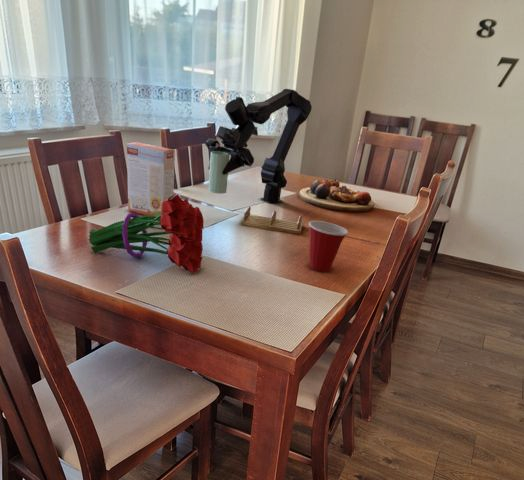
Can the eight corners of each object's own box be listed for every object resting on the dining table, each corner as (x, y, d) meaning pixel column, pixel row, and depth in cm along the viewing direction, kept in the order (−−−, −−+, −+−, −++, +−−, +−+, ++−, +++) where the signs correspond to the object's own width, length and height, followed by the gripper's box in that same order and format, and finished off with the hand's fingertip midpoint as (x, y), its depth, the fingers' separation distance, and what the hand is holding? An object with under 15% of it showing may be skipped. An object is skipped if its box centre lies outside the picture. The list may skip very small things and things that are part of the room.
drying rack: (246, 216, 168) (247, 205, 166) (302, 226, 167) (304, 214, 164) (241, 224, 159) (242, 212, 157) (300, 234, 158) (302, 222, 156)
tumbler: (218, 188, 170) (220, 150, 163) (230, 192, 166) (233, 154, 160) (204, 189, 165) (206, 151, 159) (216, 194, 162) (219, 155, 156)
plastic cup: (346, 275, 131) (355, 233, 125) (309, 275, 128) (318, 231, 122) (330, 260, 140) (338, 220, 134) (296, 260, 136) (303, 218, 130)
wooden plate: (389, 211, 201) (394, 191, 197) (333, 215, 184) (337, 193, 180) (338, 190, 223) (342, 172, 219) (284, 193, 206) (287, 173, 201)
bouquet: (111, 262, 135) (213, 260, 128) (80, 283, 120) (193, 282, 114) (93, 190, 125) (201, 183, 119) (57, 204, 111) (178, 197, 105)
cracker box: (174, 217, 157) (175, 149, 146) (163, 220, 152) (164, 151, 142) (138, 207, 161) (138, 141, 151) (127, 210, 156) (126, 142, 146)
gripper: (210, 112, 161) (185, 148, 159) (252, 122, 152) (225, 161, 150) (225, 137, 171) (200, 171, 169) (265, 147, 161) (240, 184, 160)
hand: (215, 171), depth 162 cm, fingers closed on tumbler, 6 cm apart
